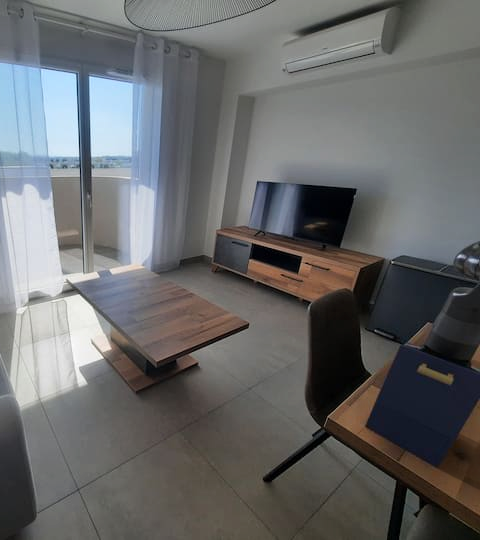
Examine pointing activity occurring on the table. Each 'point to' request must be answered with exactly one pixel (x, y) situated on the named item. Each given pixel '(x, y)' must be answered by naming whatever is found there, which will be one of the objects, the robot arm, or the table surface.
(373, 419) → the chest
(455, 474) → the table surface
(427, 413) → the lid
